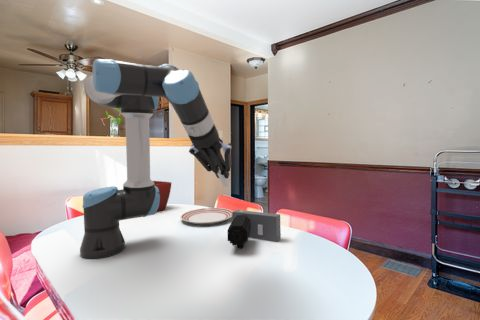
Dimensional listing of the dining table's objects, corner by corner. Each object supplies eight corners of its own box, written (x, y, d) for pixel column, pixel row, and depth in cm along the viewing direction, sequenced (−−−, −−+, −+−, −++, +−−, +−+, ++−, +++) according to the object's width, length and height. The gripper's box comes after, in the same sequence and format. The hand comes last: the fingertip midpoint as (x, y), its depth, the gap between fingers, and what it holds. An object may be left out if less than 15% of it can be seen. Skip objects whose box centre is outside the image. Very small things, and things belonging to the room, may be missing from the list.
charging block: (276, 242, 107) (276, 216, 106) (232, 235, 117) (231, 211, 116) (280, 238, 111) (280, 213, 110) (237, 232, 121) (236, 209, 120)
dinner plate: (226, 228, 127) (226, 221, 127) (171, 226, 133) (171, 220, 133) (238, 214, 154) (238, 208, 154) (192, 213, 160) (192, 207, 159)
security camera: (251, 237, 114) (250, 213, 113) (247, 255, 95) (246, 226, 95) (234, 237, 115) (234, 213, 114) (227, 254, 96) (226, 226, 96)
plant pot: (155, 205, 182) (154, 180, 181) (173, 209, 170) (172, 182, 169) (128, 211, 167) (126, 183, 166) (145, 215, 155) (144, 186, 154)
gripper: (173, 139, 72) (205, 191, 88) (219, 137, 67) (243, 193, 84) (183, 120, 77) (211, 173, 93) (227, 117, 72) (248, 174, 89)
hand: (226, 183), depth 89 cm, fingers closed
